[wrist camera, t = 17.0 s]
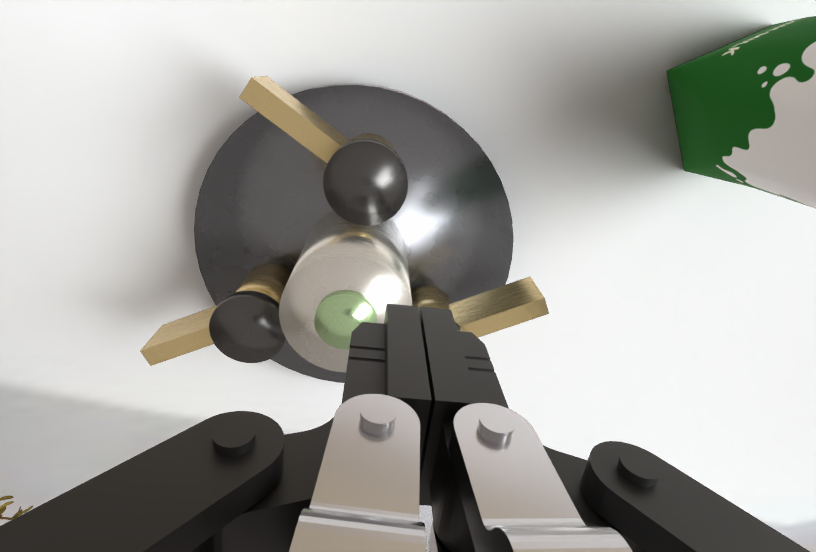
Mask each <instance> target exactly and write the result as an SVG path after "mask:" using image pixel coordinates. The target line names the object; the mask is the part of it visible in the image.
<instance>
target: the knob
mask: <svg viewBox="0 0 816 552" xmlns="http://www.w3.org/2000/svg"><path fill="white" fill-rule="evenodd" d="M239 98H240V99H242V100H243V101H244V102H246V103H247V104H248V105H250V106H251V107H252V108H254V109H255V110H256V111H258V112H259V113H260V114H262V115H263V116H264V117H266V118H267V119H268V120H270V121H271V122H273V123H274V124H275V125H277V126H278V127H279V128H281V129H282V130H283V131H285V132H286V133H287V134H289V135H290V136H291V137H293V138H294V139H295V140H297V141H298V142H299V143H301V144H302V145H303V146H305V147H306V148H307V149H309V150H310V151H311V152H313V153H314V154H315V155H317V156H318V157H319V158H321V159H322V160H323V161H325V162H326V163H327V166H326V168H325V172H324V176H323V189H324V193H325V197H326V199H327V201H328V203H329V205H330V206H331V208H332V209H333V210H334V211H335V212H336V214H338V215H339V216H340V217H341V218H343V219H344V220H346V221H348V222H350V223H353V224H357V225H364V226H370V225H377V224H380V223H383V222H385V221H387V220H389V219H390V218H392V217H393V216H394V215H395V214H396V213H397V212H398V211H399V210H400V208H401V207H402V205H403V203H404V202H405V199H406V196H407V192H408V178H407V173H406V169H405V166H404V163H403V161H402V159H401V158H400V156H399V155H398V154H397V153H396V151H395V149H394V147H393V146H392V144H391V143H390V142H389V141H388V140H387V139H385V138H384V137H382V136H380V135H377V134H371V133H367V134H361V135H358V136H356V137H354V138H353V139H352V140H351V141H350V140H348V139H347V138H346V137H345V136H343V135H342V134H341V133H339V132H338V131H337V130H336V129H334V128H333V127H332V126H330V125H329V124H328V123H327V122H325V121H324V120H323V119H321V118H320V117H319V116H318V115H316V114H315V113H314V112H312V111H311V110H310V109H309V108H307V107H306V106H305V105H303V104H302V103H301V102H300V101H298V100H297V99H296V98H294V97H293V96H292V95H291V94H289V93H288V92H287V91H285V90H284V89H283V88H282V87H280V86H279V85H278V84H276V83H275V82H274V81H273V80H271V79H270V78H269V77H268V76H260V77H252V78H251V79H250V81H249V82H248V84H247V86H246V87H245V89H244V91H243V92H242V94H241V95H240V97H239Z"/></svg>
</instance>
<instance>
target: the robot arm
mask: <svg viewBox="0 0 816 552" xmlns="http://www.w3.org/2000/svg"><path fill="white" fill-rule="evenodd" d="M419 505H430V506H432V514H433V522H432V527H431V531H430V536H429V551H430V552H810V551H808V550H807V549H805V548H803V547H802V546H800V545H799V544H797V543H795V542H794V541H792V540H790V539H789V538H787V537H786V536H784V535H782V534H781V533H779V532H778V531H776V530H774V529H773V528H771V527H770V526H768V525H766V524H765V523H763V522H762V521H760V520H758V519H757V518H755V517H754V516H752V515H750V514H749V513H747V512H745V511H744V510H742V509H741V508H739V507H737V506H736V505H734V504H733V503H731V502H729V501H728V500H726V499H725V498H723V497H721V496H720V495H718V494H717V493H715V492H713V491H712V490H710V489H709V488H707V487H705V486H704V485H702V484H700V483H699V482H697V481H696V480H694V479H692V478H691V477H689V476H688V475H686V474H684V473H683V472H681V471H680V470H678V469H676V468H675V467H673V466H672V465H670V464H668V463H667V462H665V461H664V460H662V459H660V458H659V457H657V456H656V455H654V454H652V453H650V452H648V451H646V450H644V449H642V448H640V447H637V446H634V445H632V444H628V443H623V442H616V441H609V442H603V443H600V444H598V445H596V446H595V447H594V448H593V449H592V451H591V453H590V456H589V458H588V460H584V459H581V458H578V457H575V456H571V455H568V454H565V453H562V452H558V451H555V450H553V449H550V448H548V447H545V446H543V445H542V443H541V441H540V440H539V438H538V436H537V434H536V432H535V430H534V429H533V427H532V426H531V424H530V423H529V422H528V421H527V420H526V419H525V418H523V417H522V416H521V415H519V414H518V413H516V412H514V411H512V410H510V409H509V408H508V405H507V403H506V400H505V397H504V395H503V392H502V389H501V387H500V384H499V381H498V379H497V376H496V373H495V372H494V368H493V365H492V363H491V361H490V357H489V355H488V352H487V349H486V347H485V344H484V343H482V342H481V341H480V340H479V339H478V338H477V337H476V336H475V335H474V334H473V333H472V332H464V331H457V328H456V324H455V321H454V317H453V314H452V311H451V310H449V309H439V308H429V307H419V309H418V306H409V305H399V304H389V303H387V305H386V311H385V319H384V324H380V323H370V322H362V323H361V324H360V325H359V326H358V327H357V328H355V329H354V330H353V331H352V333H351V341H350V348H349V355H348V362H347V370H346V377H345V384H344V391H343V399H342V404H341V405H340V406H339V408H338V409H337V411H336V413H335V416H334V417H333V418H332V419H331V420H330V421H329V422H327V423H325V424H324V425H322V426H320V427H318V428H315V429H312V430H308V431H304V432H298V433H292V434H286V435H284V433H283V431H282V429H281V427H280V426H279V425H278V423H276V422H275V421H274V420H273V419H271V418H269V417H268V416H265V415H263V414H260V413H255V412H248V411H235V412H228V413H223V414H219V415H216V416H213V417H211V418H209V419H206V420H204V421H202V422H201V423H199V424H197V425H195V426H193V427H191V428H189V429H187V430H185V431H183V432H181V433H179V434H177V435H175V436H174V437H172V438H170V439H168V440H166V441H164V442H162V443H160V444H158V445H156V446H154V447H152V448H150V449H148V450H146V451H145V452H143V453H141V454H139V455H137V456H135V457H133V458H131V459H129V460H127V461H125V462H123V463H121V464H119V465H118V466H116V467H114V468H112V469H110V470H108V471H106V472H104V473H102V474H100V475H98V476H96V477H94V478H92V479H91V480H89V481H87V482H85V483H83V484H81V485H79V486H77V487H75V488H73V489H71V490H69V491H67V492H65V493H63V494H62V495H60V496H58V497H56V498H54V499H52V500H50V501H48V502H46V503H44V504H42V505H40V506H38V507H36V508H35V509H33V510H31V511H29V512H27V513H25V514H23V515H21V516H19V517H17V518H15V519H13V520H11V521H9V522H8V523H6V524H4V525H2V526H0V552H426V531H425V525H424V523H422V522H419Z"/></svg>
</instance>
